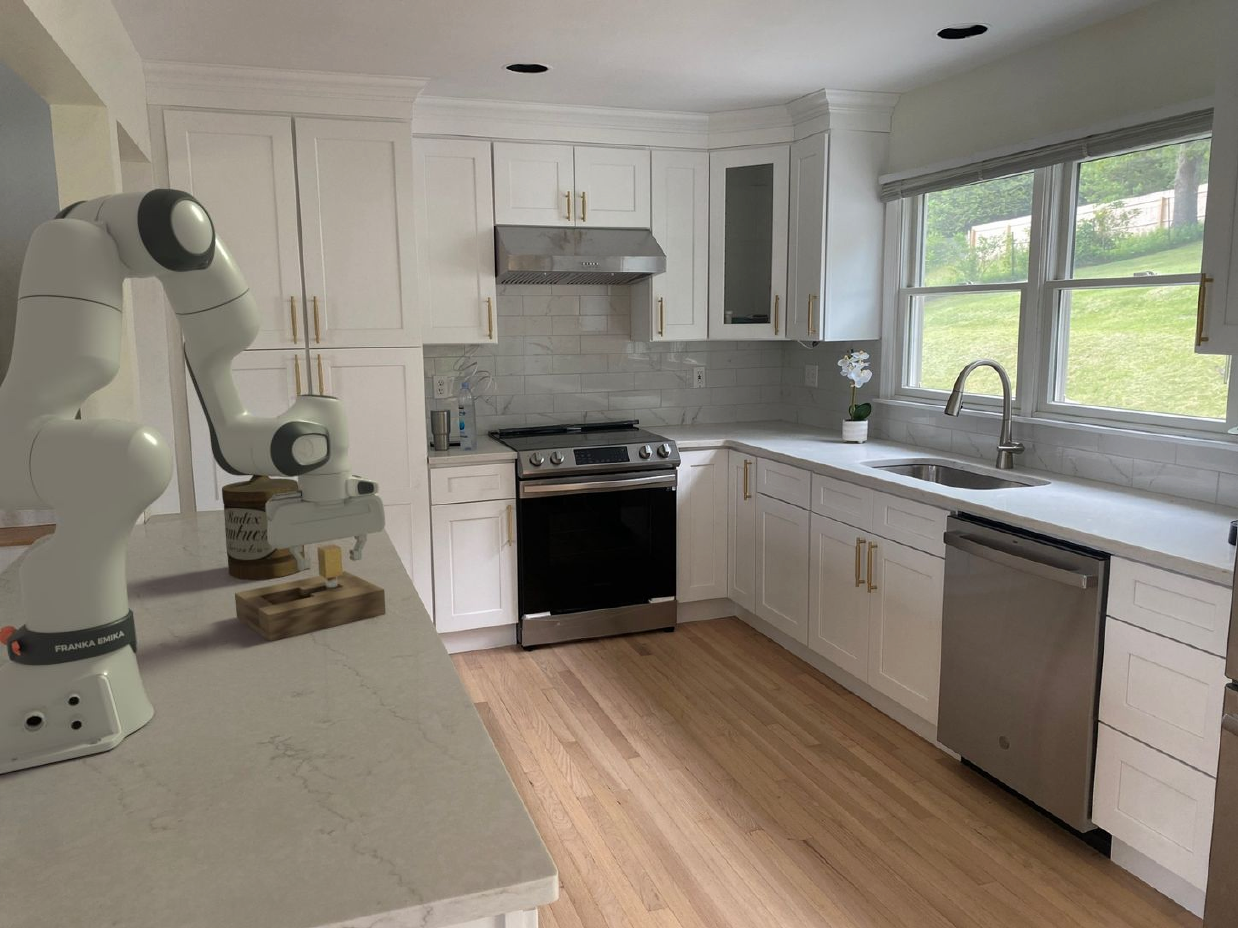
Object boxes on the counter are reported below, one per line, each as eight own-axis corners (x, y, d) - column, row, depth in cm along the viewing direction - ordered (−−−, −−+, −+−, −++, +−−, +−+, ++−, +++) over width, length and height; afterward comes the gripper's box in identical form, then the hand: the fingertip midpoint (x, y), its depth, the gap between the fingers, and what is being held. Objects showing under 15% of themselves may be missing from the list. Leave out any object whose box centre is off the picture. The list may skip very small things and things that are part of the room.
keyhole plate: (270, 641, 141) (268, 614, 140) (236, 617, 153) (234, 592, 152) (385, 613, 154) (384, 589, 153) (346, 593, 166) (345, 570, 165)
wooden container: (212, 578, 178) (203, 470, 174) (259, 559, 192) (251, 459, 188) (277, 582, 174) (269, 472, 171) (319, 562, 188) (312, 461, 185)
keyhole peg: (325, 611, 153) (321, 552, 151) (313, 604, 156) (309, 547, 155) (352, 605, 156) (348, 547, 154) (340, 598, 160) (336, 542, 158)
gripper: (271, 498, 144) (277, 579, 146) (387, 482, 157) (391, 557, 159) (257, 492, 148) (264, 572, 150) (371, 477, 162) (375, 551, 164)
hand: (330, 564), depth 155 cm, fingers open, 8 cm apart
